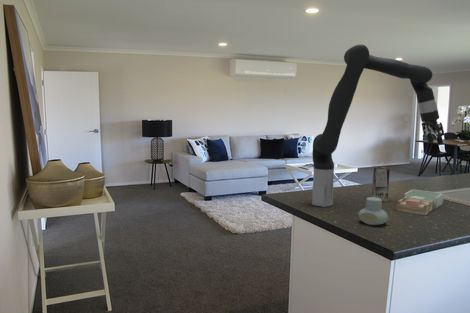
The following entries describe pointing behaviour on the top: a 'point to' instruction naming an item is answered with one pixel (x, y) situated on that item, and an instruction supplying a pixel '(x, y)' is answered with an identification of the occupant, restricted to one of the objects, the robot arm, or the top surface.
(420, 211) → the beige shallow box
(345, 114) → the robot arm
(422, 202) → the tile
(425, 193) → the tray
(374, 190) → the coffee box
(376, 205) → the air freshener
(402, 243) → the top surface
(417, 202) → the tile
